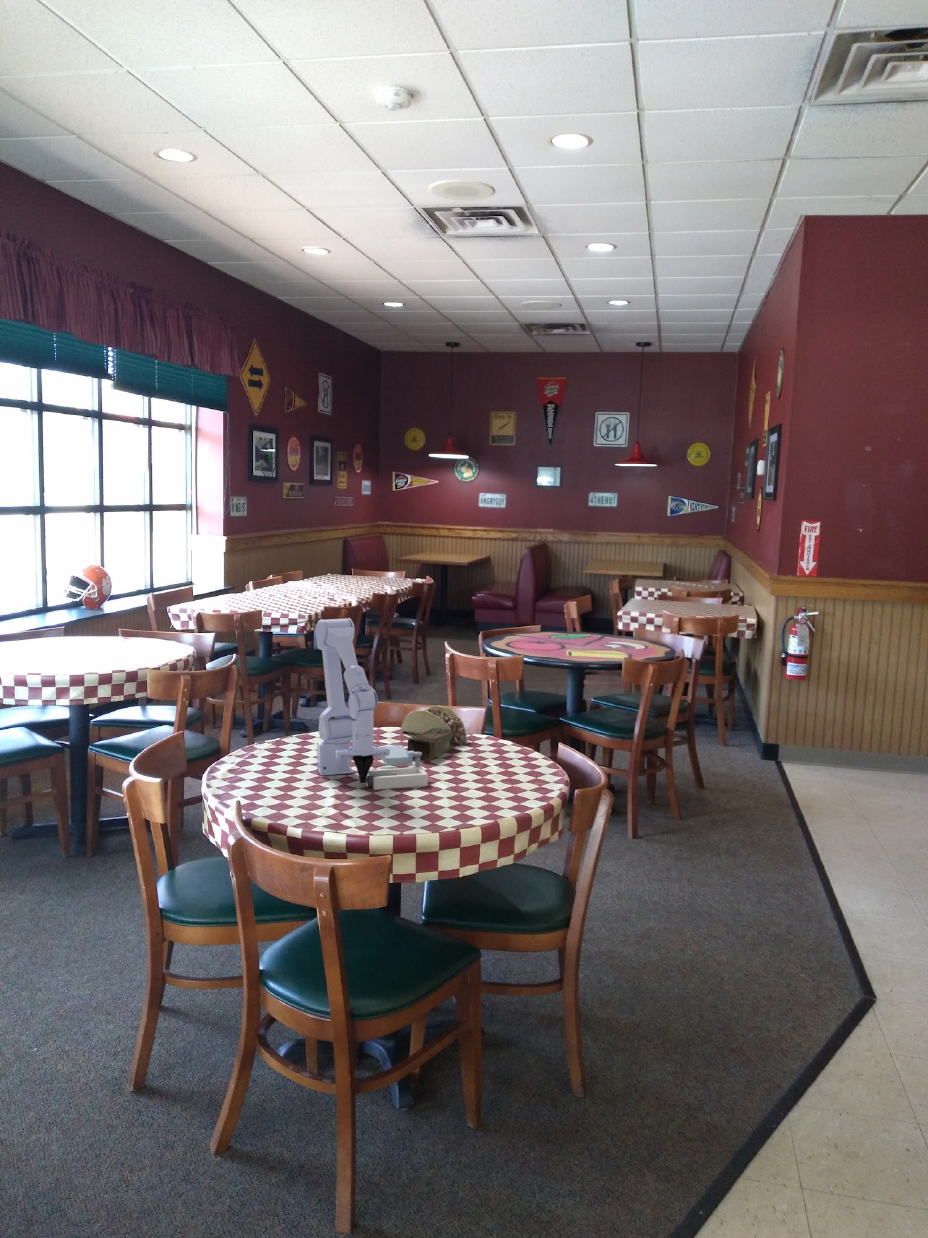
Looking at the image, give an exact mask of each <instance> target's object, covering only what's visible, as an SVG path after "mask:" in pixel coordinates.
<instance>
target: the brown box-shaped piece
mask: <svg viewBox="0 0 928 1238" xmlns="http://www.w3.org/2000/svg"><path fill="white" fill-rule="evenodd" d="M455 744H456V743H455V731H454V730H448V729H441V727H436V728H433V729H431V730H428V731H426V732H423V733H421V734H419V735H417V734H415V736H412V737H410V738H408V739H407V749H406V751H414V752H422V755H421V756H420V761H424V762H430V761H431V760H434V759H435V758H437V757H440V756H441V755H443V754H445V753H447V752H448V751H450V750H451V749H454V748H455ZM412 760H415V757H412Z"/></svg>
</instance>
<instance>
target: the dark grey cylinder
mask: <svg viewBox="0 0 928 1238" xmlns="http://www.w3.org/2000/svg"><path fill="white" fill-rule="evenodd" d="M393 775H397V774H388V775H374V776H368V775H367V779H366V785H367V788H373V777H379V776H393Z"/></svg>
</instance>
